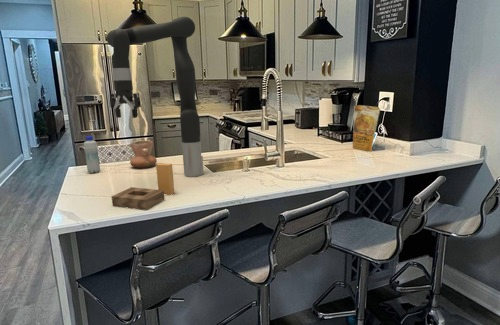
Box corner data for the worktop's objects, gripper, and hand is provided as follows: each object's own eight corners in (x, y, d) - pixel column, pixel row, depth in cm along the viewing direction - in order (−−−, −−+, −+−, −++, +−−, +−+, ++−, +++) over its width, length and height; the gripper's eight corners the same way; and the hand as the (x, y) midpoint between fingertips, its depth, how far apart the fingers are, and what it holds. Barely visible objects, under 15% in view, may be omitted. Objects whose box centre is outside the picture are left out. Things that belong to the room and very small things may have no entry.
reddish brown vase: (160, 167, 195) (158, 142, 192) (134, 171, 188) (131, 145, 185) (152, 162, 210) (150, 138, 207) (127, 165, 203) (124, 141, 200)
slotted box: (112, 205, 138) (111, 196, 137) (132, 196, 149) (131, 187, 148) (146, 210, 132) (145, 200, 131) (164, 199, 143) (163, 190, 142)
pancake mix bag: (355, 146, 237) (357, 104, 230) (378, 151, 221) (381, 106, 214) (348, 147, 233) (350, 105, 227) (371, 152, 217) (373, 107, 211)
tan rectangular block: (158, 193, 151) (155, 164, 147) (162, 191, 153) (160, 163, 150) (170, 195, 149) (168, 165, 146) (174, 192, 151) (172, 163, 148)
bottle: (90, 171, 192) (84, 135, 187) (102, 170, 192) (97, 134, 187) (85, 174, 185) (80, 137, 180) (98, 173, 186) (93, 136, 181)
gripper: (142, 78, 149) (145, 116, 153) (115, 79, 154) (119, 116, 158) (130, 79, 142) (134, 119, 146) (102, 80, 147) (107, 118, 151)
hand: (126, 117), depth 152 cm, fingers open, 8 cm apart
